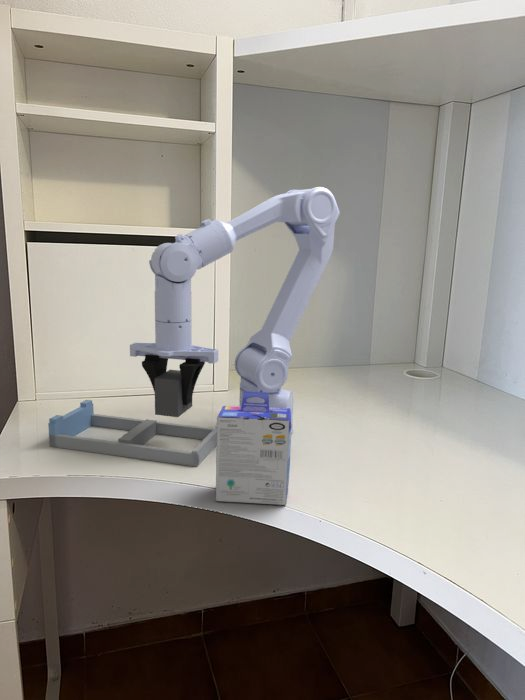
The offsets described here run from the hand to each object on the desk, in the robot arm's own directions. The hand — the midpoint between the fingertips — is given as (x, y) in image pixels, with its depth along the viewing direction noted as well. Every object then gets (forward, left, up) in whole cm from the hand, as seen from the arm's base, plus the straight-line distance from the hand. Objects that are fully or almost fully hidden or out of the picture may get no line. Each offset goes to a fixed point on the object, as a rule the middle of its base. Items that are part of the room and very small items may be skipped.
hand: (174, 401), depth 90 cm
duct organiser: (+7, 0, -8) cm, 10 cm away
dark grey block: (0, 0, -1) cm, 1 cm away
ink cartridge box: (-17, +12, -8) cm, 22 cm away
